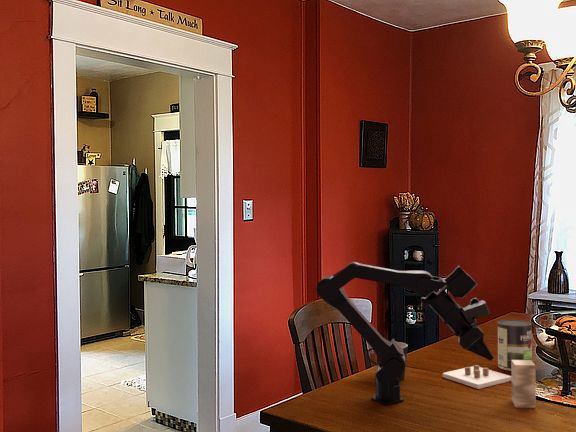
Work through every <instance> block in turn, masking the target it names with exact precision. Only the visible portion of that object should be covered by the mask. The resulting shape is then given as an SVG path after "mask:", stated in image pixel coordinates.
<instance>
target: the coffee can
mask: <svg viewBox="0 0 576 432" xmlns="http://www.w3.org/2000/svg"><path fill="white" fill-rule="evenodd" d="M496 324H497V367H498V368H499V369H501V370H503V371H504V370H505V371H509V372H511V360H531V361H532V362H533V360H532V359H533V358H532V354H533V353H532V351H533V347H532V346H533V345H532V342H533V341H532V333H533V332H532V331H533V329H532V328H533V327H532V325H533V323H532V322H530V321H527V320H521V319H520V320H519V319H502V320H498V321H496Z"/></svg>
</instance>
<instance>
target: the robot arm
mask: <svg viewBox="0 0 576 432" xmlns="http://www.w3.org/2000/svg"><path fill="white" fill-rule="evenodd" d="M354 279H360V280H365V281H371V282H377V283H381V284H382V283H383V284H387V285H393V286H396V287H401V288H403V289H405V290H406V291H409V292H412V293H415V294H418V295H420V296H422V297H420V301H421V305H420V306H421V309H422V310H425V308H427V307H428V306H429V307H430V308H431V309H432V310H433V311H434V312H435V313H436V314H437V316H439V318H440V319H441V320H442V322H443V323H444V324H445V325H446V326H448V327H449V329H450V330H451V331H452V332H453V335H455V336H456V337H457V339H458V341H457V342H458V344H459V346H460V347H461V348H462V349H463V350H466V351H468V352H471V353H472V354H475V355H478V356H480V357H481V358H484V359H486V360H488V361H493V360H494V356H493V354H492V353H491V352H490V349H489V347H488V345H487V344H486V342H485V341H484V336H485V333H484V332H483V330H482V329H481V328H480V327H479V323H478V321H477V319H479V318H482V317H487V316H489V315H490V314H491V312H490V309H489V306H488V305H487V302H486V301H485V300H479V299H478V298H477V297H473V298H472V299H471V298H470V302H469V304H468V305H467V306H465V307H463V306H462V305H461V304H458V303H457V302H456V301H455V300H454V298H455V299H457V298H458V299H459V298H460V299H463V298H464V297H465V296H467V295H468V294H469V293H470V292H472V290H473V289H475V288H476V287H477V286H478V283H477V282H476V281H475V280H474V279H473V278H472V277H471V275H470V274H469V273H467V272H466V271H465V270H464V269H463V268H462V267H461V266H460V265H457V266H456V267H455V268H454V270H453V271H452V272H451V273H450V274H448V275H447V276H446V277H445V278H444V277H439V276H435V275H434V276H433V275H432V274H431V273H430V272H429V271H426V270H397V269H396V270H395V269H393V268H392V269H391V268H385V267H380V266H375V265H369V264H363V263H359V262H357V261H351V262H349V263H348V265H346V266H345V267H344V268H342V269H340V270H339V271H338V272H336V273H334V274H333V275H326V276H324V277H322V278H321V280H319V282H317V285H316V294H317V295H318V297H319V298H320V299H322V300H323V301H324V302H325V303H327V304H328V305H329V306H331V307H332V308H333V309H336V310H337V311H338V312H339V313H340V314H341V315H342V316H343V317H344V318H345V320H347V321H348V323H349V324H350V325H351V326H352V327H353V329H355V331H356V332H357V333H358V334H359V335H360V336H361V338H363V340H365V342H366V343H367V344H368V345H369V346H370V347H371V348H373V350H372V351H373V352H374V353H375V356H376V358H377V359H378V361H379V362H378V363H377V364H378V365H377V366H376V369H375V376H374V378H375V381H374V383H375V384H374V386H375V395H372V396H370V398H371V400H373V401H376V402H379V403H380V404H382V405H386V406H387V405H390V404H396V403H400V402H403V401H404V400H405V398H404V397H402V396H401V385H400V381H399V378H398V374H400V373H402V372H403V370H404V368H405V369H406V367H405V355H404V353H403V348H401V347H399V346H398V344H397V343H396V342H397V341H396V340H395V338H392V339H391V341H390V340H388V339H386V338H384V337H383V336H382V335H381V334H380V332H379V331H378V330H377V329H376V328H375V327H374V326H373V325H372V324H371V322H370V321H369V320H368V319H367V318H366V317H365V315H364V314H363V313H362V311H360V310H359V308H357V306H356V305H355V304H353V302H352V301H351V299H349V297H348V295H347V293H346V291H345V289H344V287H345V286H346V285H347V284H348V283H350V282H351V281H353V280H354ZM446 290H447V291H448V292H449V293H450V294H451V295H452V296H451V295H449V293H448V292H447V291H446ZM436 291H437V292H436ZM423 296H426V297H423ZM452 297H454V298H452Z"/></svg>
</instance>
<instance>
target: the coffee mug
mask: <svg viewBox="0 0 576 432" xmlns="http://www.w3.org/2000/svg"><path fill="white" fill-rule="evenodd" d="M396 343H397V344H398V346H399V347H401V348H403V353H404V355H405V368H404V370H403V372H402V373H400V374H398V378H399V382H401V381H404V380H405V375H406V366H407V355H408V348H409V347H408V346H409V345H408V344H407V343H405V342H400V341H399V342H398V341H396ZM371 351H374V350H373V348H372V347H371V348H369V349H367V351H366V357H367V358H368V360H369V361H370V362H371V364H374V365H375V366H376V367H377V365H378V364H379V363H377V362H375V360H373V359H372V358H371V356H370V355H369V353H370V352H371Z"/></svg>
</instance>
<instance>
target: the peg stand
mask: <svg viewBox="0 0 576 432" xmlns="http://www.w3.org/2000/svg"><path fill="white" fill-rule="evenodd" d="M442 378H444V379H447V380H450V381H453V382H456V383H460V384H463V385H465V386H469V387H470V388H471V387H472V388H474V389H477V390H480V389H484V388H486V387H487V388H488V387H492V386H496V385H500V384H504V383H507V382H512V375H508V374H505V373H502V372H500V371H496V370H495V371H494V370H492V369H489V367H481V366H480V365H478V364H475V365H472V366H466V367H463V368H459V369H454V370H449V371H446V372H445V371H444V372H443V373H442Z"/></svg>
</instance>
